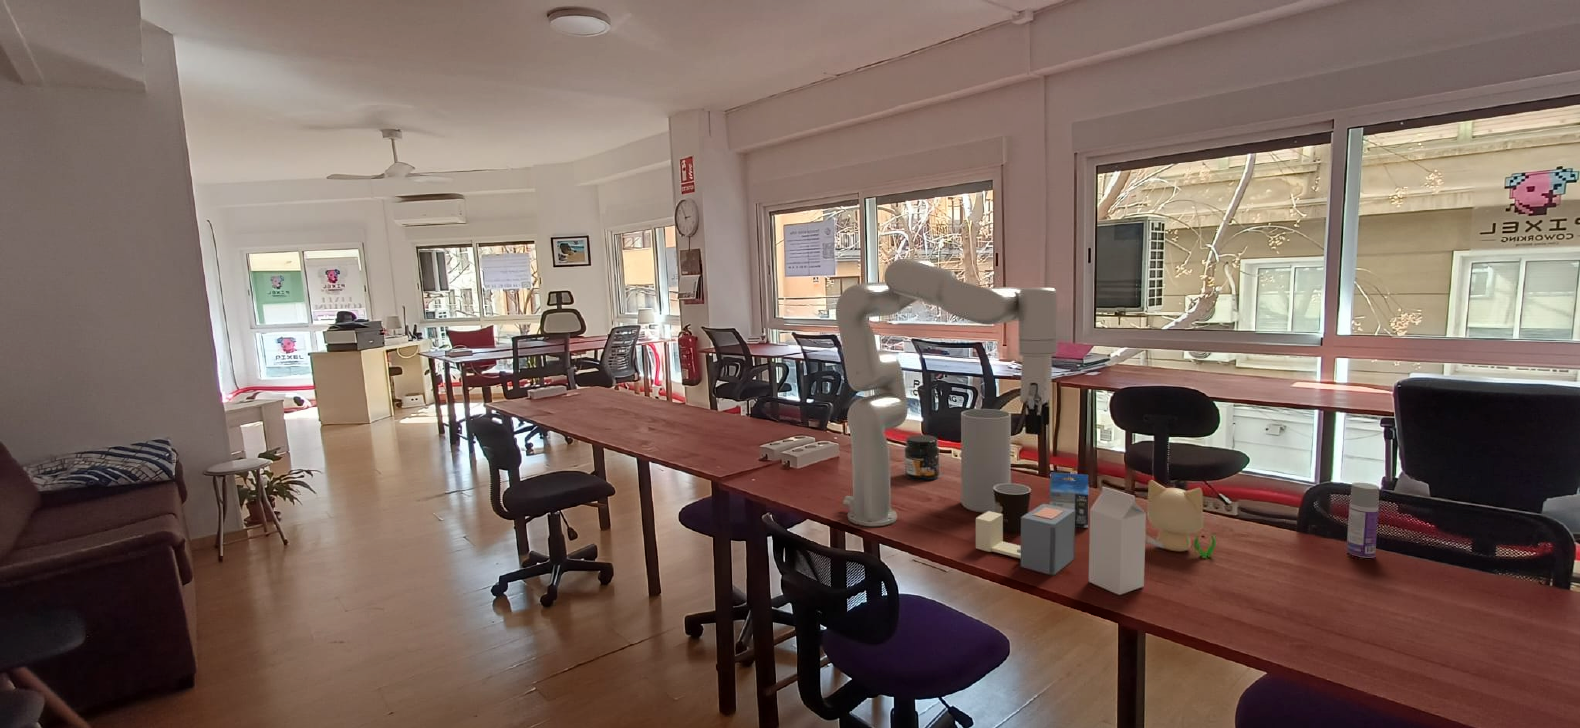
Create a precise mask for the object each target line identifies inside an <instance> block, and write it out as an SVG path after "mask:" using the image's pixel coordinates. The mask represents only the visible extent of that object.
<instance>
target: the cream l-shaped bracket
mask: <svg viewBox="0 0 1580 728" xmlns="http://www.w3.org/2000/svg"><path fill="white" fill-rule="evenodd" d="M1020 547H1021V545H1019V544H1015V543H1010V542H1006V541H1004V532H1003V514H1000V513H995V512H991V511H988V512H986V513H982V514H980V515H978V516H977V517H975V549H978V550H981V551H984V552H988V553H990V552H991V553H992V552H994V553H998V554H1001V555H1006V556H1010V557H1013V558H1017V559H1020V560H1021V553H1018V552H1017V549H1019V548H1020Z"/></svg>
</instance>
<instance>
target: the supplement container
mask: <svg viewBox="0 0 1580 728" xmlns="http://www.w3.org/2000/svg"><path fill="white" fill-rule="evenodd" d="M938 441H939V440H938V438H937V437H936V436H933V435H928V434H927V435H926V434H917V435H916V434H915V435H910V436H907V437H906V438H905V445H906V446H905V447H904V475H905V477H907V478H908V479H909V480H912V479H913V481H918V480H928V481H934V480H936V479H937V478H939V477H940V448H939V446H938V445H939V444H938Z"/></svg>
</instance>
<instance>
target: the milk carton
mask: <svg viewBox="0 0 1580 728" xmlns="http://www.w3.org/2000/svg"><path fill="white" fill-rule="evenodd" d="M1146 523H1147V511H1144V509H1143V508H1142V507H1141V506H1140V505H1139V504H1138V502H1136V496H1135V495H1132V494H1129V493H1126V492H1122V491H1120V490H1116V489H1113V488H1109V487H1105V486H1101V493H1100V494H1099V495H1098V497H1097V498H1096V500H1095V501H1094V503H1093V504H1092V506H1091V507H1090V509H1089V539H1088V540H1089V541H1088V542H1089V543H1088V544H1089V546H1088V547H1089V549H1088V550H1089V551H1088V582H1089V583H1091V584H1093V585H1095V586H1097V587H1100V588H1102V589H1105V590H1107V591H1109V592H1111V593H1114V594H1116V595H1119V596H1121V595H1124V594H1126V593H1129V592H1131V591H1135V590H1138V589H1140V588H1143V587H1144V586H1145V565H1146V564H1145V558H1146V557H1145V555H1146V554H1145V553H1146V541H1145V532H1146Z"/></svg>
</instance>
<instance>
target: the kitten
mask: <svg viewBox="0 0 1580 728" xmlns="http://www.w3.org/2000/svg"><path fill="white" fill-rule="evenodd" d="M1147 488H1148V489H1147V490H1148V492H1147V503H1148V504H1147V508H1146V518H1147V519H1148V521H1149V523H1150V524H1151V525H1152V526H1154V527H1156V528H1157V529H1159V530H1160V532H1159V533H1158V534H1157V537H1156V539H1155V538H1154V537H1151V536H1150V535H1148V534H1147V532H1146V531H1145V542H1147V543H1149V544H1150V545H1152V546H1155V547H1158V548H1161V549H1165V550H1168V551H1172V552H1185V551H1188V550H1189V549H1190V548H1191V546H1192V539H1191V537H1190V535H1189V534H1195V533H1198V532H1200V530H1201V529H1202V528H1203V526H1204V521H1205V518H1204V513H1203V509H1204V506H1203V505H1204V504H1203V501H1204V500H1203V495H1204V494H1203V490H1202V488H1201V487H1197V488H1193V489H1189V490H1185V489H1181V488H1178V487H1177V488H1176V487H1165V486H1163V485H1161V484H1159V483H1158V482H1156V481H1155V480H1153V479H1151V480H1149V481H1148V485H1147ZM1193 543H1194V544H1193V545H1194V548H1195V550H1196V551H1197V552H1198V553H1199V556H1200V555H1201V556H1202V557H1201V558H1202V559H1207V558H1209V557H1211V558H1212V556H1211V554H1212V553H1213V551H1214V549H1215V547H1216V544H1217V541H1216V538H1215V536H1214V535H1213V534H1212V533H1211V544H1210V545H1209V547H1208V548H1207V550H1206V552H1205V551H1204V550H1203V549H1202V548H1201V547H1200V544H1199V535H1197V536H1196V537H1195V539H1194V542H1193ZM1212 555H1213V554H1212ZM1207 556H1209V557H1207Z"/></svg>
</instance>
